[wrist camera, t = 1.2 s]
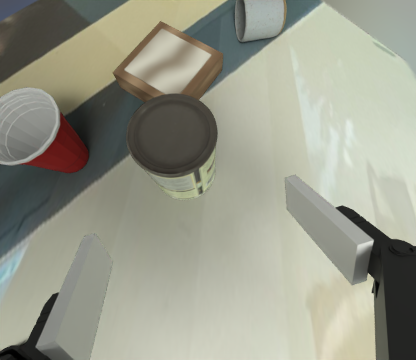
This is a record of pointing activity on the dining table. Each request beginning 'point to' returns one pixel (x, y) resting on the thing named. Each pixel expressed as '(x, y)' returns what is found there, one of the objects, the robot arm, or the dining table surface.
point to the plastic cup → (38, 133)
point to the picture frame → (169, 65)
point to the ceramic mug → (259, 19)
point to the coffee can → (175, 144)
